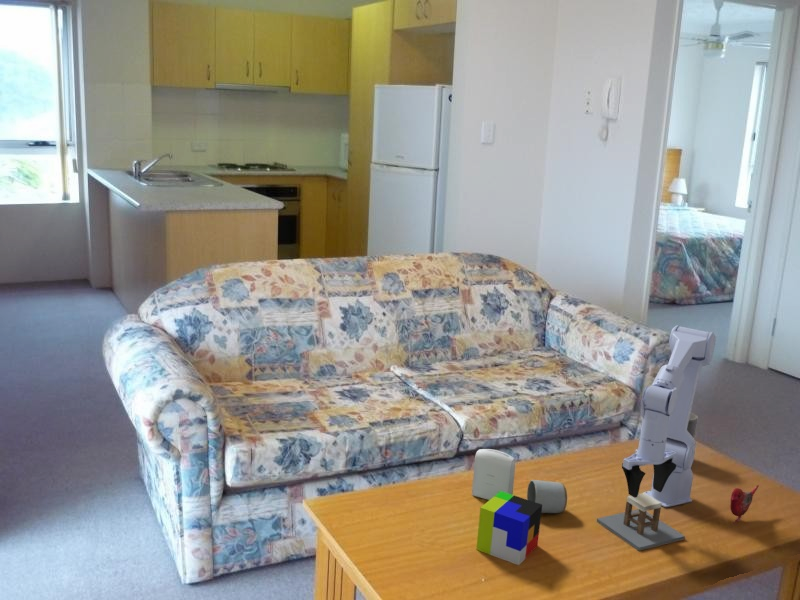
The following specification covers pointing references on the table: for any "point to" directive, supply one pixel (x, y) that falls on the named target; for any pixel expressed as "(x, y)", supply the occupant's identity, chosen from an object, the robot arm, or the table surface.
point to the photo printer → (492, 473)
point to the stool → (642, 512)
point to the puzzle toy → (509, 527)
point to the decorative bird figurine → (741, 502)
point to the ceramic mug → (548, 495)
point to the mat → (637, 541)
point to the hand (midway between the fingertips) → (645, 492)
